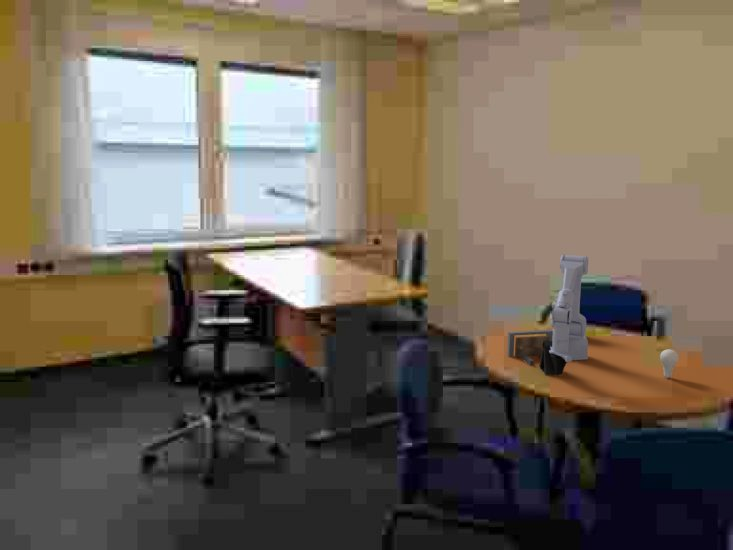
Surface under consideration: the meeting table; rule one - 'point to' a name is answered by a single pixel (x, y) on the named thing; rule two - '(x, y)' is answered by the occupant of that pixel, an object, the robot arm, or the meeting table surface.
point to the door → (529, 345)
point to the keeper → (527, 359)
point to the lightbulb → (668, 361)
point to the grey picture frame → (511, 334)
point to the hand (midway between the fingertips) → (558, 374)
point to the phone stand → (547, 359)
